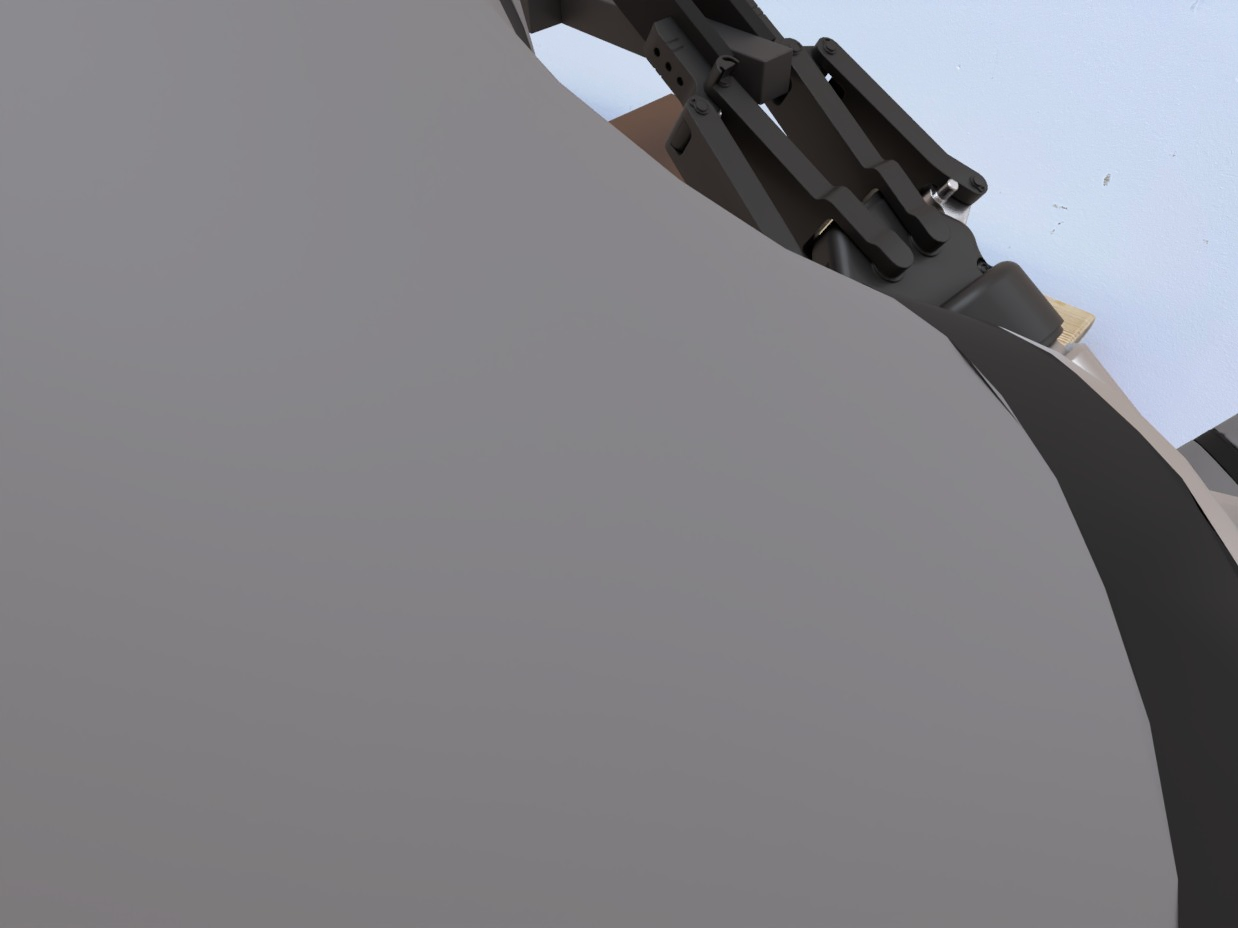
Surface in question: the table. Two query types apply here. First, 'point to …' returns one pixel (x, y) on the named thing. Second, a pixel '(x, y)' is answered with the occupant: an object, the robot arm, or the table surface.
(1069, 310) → the table surface
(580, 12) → the stepped dark block
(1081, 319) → the table surface
